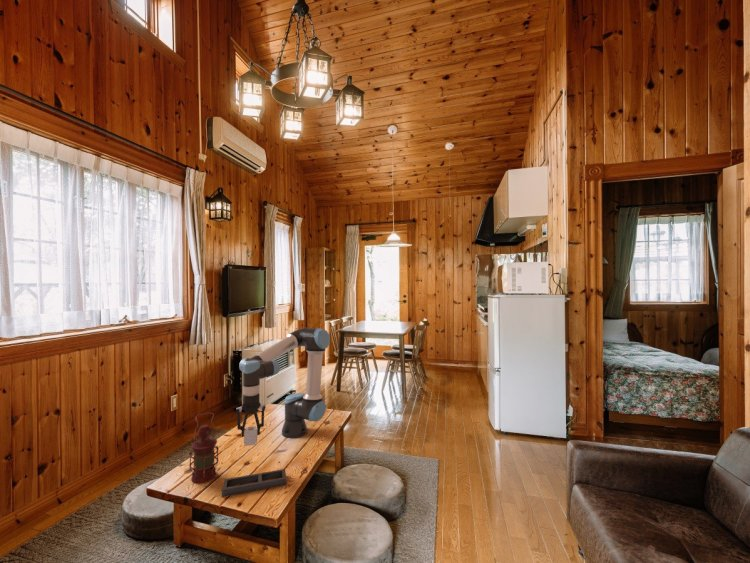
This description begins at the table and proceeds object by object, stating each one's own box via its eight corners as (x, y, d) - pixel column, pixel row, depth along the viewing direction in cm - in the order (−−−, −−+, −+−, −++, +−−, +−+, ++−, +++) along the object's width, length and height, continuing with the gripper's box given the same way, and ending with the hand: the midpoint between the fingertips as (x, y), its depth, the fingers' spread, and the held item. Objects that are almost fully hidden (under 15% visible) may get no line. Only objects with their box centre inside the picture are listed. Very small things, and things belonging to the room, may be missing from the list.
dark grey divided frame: (284, 475, 157) (285, 468, 157) (286, 485, 149) (286, 478, 149) (224, 486, 148) (224, 479, 148) (222, 497, 140) (222, 490, 141)
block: (255, 440, 162) (255, 425, 162) (255, 444, 157) (255, 428, 157) (245, 441, 160) (246, 426, 160) (245, 446, 156) (245, 430, 156)
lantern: (188, 487, 147) (189, 420, 148) (189, 473, 158) (190, 410, 159) (218, 480, 153) (219, 415, 153) (217, 467, 164) (218, 406, 164)
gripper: (270, 389, 166) (269, 436, 165) (232, 393, 160) (231, 441, 159) (270, 394, 159) (269, 443, 158) (230, 397, 153) (230, 448, 152)
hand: (250, 442), depth 159 cm, fingers closed on block, 4 cm apart
